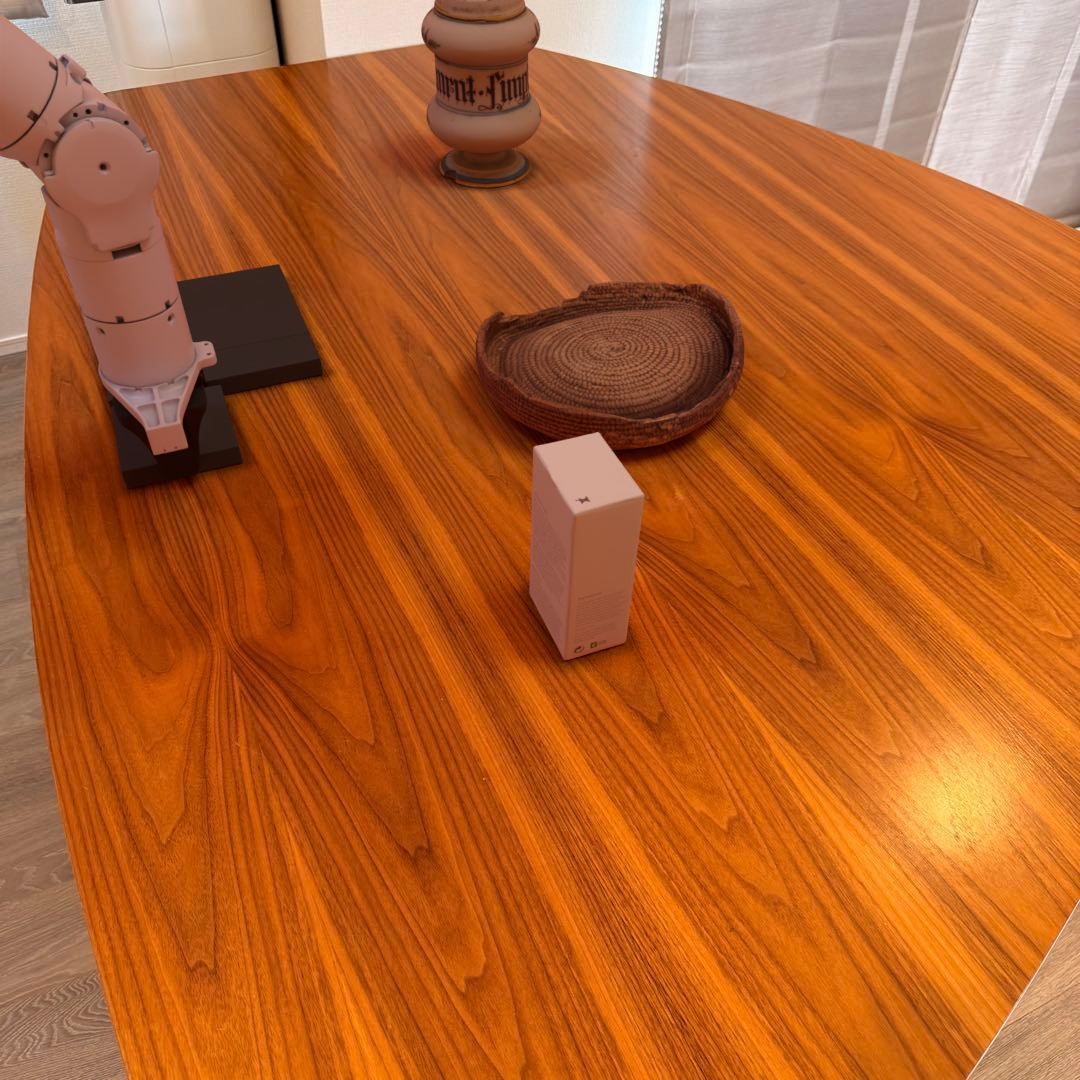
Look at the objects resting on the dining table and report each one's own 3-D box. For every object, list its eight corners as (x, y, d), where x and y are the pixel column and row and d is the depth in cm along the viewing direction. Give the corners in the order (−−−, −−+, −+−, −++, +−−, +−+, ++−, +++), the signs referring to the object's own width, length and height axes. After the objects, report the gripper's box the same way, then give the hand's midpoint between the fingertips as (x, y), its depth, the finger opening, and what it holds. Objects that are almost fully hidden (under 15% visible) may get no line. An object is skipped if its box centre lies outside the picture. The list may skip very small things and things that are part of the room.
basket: (615, 285, 89) (619, 234, 86) (797, 379, 79) (810, 326, 76) (425, 382, 78) (421, 328, 74) (609, 506, 68) (615, 451, 64)
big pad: (114, 418, 74) (108, 401, 72) (96, 312, 84) (91, 296, 83) (323, 374, 78) (320, 358, 77) (282, 279, 89) (279, 263, 87)
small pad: (127, 489, 68) (120, 471, 67) (112, 396, 75) (106, 379, 74) (243, 463, 70) (238, 445, 69) (217, 375, 78) (213, 358, 77)
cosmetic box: (628, 644, 59) (648, 496, 50) (563, 663, 58) (572, 516, 49) (588, 575, 63) (600, 428, 54) (526, 592, 62) (529, 445, 53)
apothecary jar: (406, 168, 106) (392, -16, 93) (484, 136, 112) (480, -40, 100) (485, 203, 100) (481, 13, 88) (562, 168, 107) (569, -15, 94)
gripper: (217, 348, 55) (261, 524, 64) (181, 233, 64) (224, 401, 74) (84, 374, 53) (149, 551, 62) (68, 251, 62) (127, 421, 72)
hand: (183, 471), depth 68 cm, fingers closed
